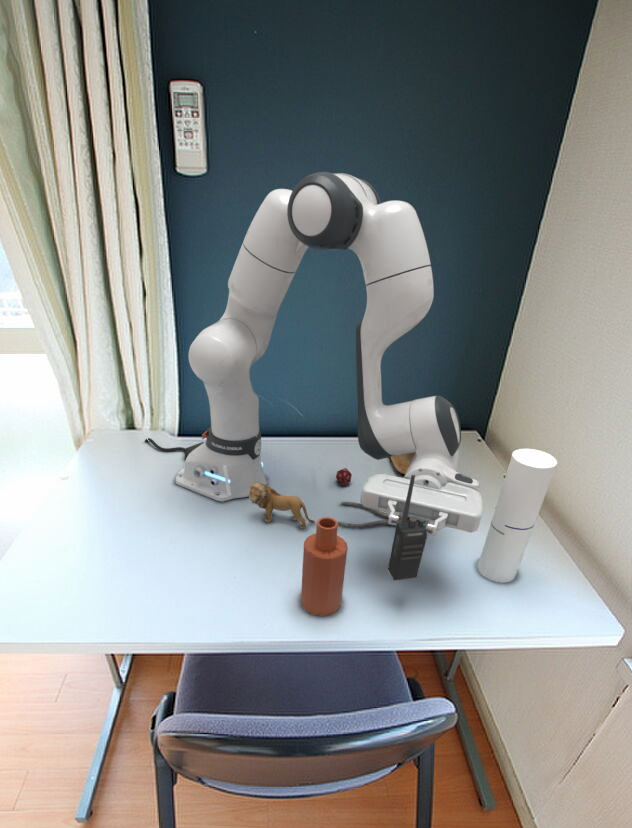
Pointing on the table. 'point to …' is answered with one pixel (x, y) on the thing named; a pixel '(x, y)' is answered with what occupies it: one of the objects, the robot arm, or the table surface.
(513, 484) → the cylindrical container
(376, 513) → the pliers
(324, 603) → the bottle
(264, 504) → the lion figurine
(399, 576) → the walkie-talkie
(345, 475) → the dice
